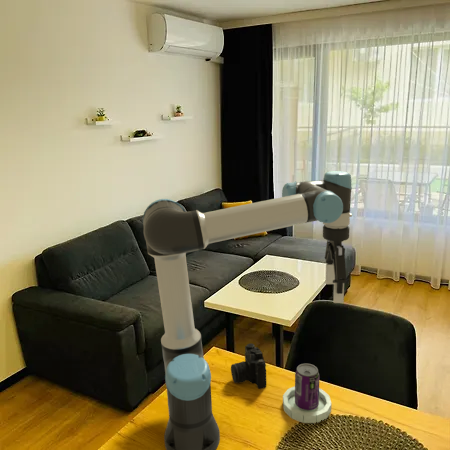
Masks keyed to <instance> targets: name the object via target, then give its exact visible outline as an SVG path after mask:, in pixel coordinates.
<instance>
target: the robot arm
mask: <svg viewBox="0 0 450 450" xmlns="http://www.w3.org/2000/svg"><path fill="white" fill-rule="evenodd" d="M352 189H353V188H352V175H351V173H349V172H347V171H342V170H341V171H340V170H337V171H336V170H333V171H327V172H325V173H324V174H323V179H319V180H309V181H308V180H305V181H291V182H286V183H285V184H283V187H282V190H281V197H277V198H271V199H267V200H261V201H256V202H252V203H247V204H241V205H235V206H231V207H227V208H221V209H217V210H213V211H207V212H201V211H199V210H198V209H196V210H191V211H185V209H184V207H183V206H182V205H181V204H180V203H179V202H177V201H175V200H173V199H171V198H159V199H157V200H155V201H153V202H151V203H150V204H149V205H148V206H147V207H146V209H145V210H144V212H143V215H142V225H143V236H144V241H145V243H146V250H147V254H148V255H149V256H151V257H152V258H154V264H155V265H154V266H155V271H156V279H157V286H158V292H159V299H160V306H161V307H160V308H161V313H162V319H163V320H162V322H163V326H164V334H163V335H162V336H161V338H160V342H161V351H162V358H163V362H164V372H165V373H164V374H165V375H164V380H165V386H166V393H167V395H166V396H167V406H168V407H167V409H168V416H169V417H168V421H167V424H166V428H165V431H164V438H163V439H164V447H165V450H217V449H218V446H219V444H220V441H221V440H220V438H221V435H220V429H219V425H218V423H217V420H216V419H215V415H214V414H213V405H212V404H213V403H212V402H213V401H212V389H211V388H212V386H211V384H212V373H211V370H210V366H209V363H208V362H207V361H206V359H205V356H204V351H203V344H202V342H203V341H202V334H201V332H200V331H199V330H198V329H197V328H195V321H194V320H195V319H194V313H193V311H194V310H193V304H192V297H191V295H192V294H191V289H190V281H189V280H190V279H189V273H188V265H187V257H186V256H187V255H186V254H187V253H191V252H197V251H199V250H205V249H206V248H207V246H209V245H210V244H213V243H218V242H222V241H227V240H231V239H236V238H242V237H245V236H251V235H255V234H261V233H265V232H270V231H273V230H278V229H279V230H280V229H284V228H288V227H292V226H297V225H302V224H307V223H313V222H317V221H318V222H320V223H322V224H323V226H322V238H323V239H325V240H326V245H325V247H326V248H325V252H324V253H325V255H324V260H325V263H326V264H325V285H333V299H332V301H333V304H344V301H345V300H344V299H345V296H344V295H345V284H346V283H347V273H346V258H345V257H346V248H345V247H344V245H343V243H342V242H344V241H347V240H348V239H349V238H350V230H351V229H350V226H349V225H350V222H351V221H350V218H352V216H353V215H352V213H351V201H352V200H351V199H352V198H351V197H352Z"/></svg>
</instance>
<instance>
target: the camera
mask: <svg viewBox="0 0 450 450" xmlns="http://www.w3.org/2000/svg"><path fill="white" fill-rule="evenodd" d="M244 348H245V353H244V361H241V362H235V363H233V364H231V365H230V372H231V377H232V380H233V382H234V383H235V384H241V383H246V382H249V383H250V384H251V385H252V384H253V385H255V386H256V387H257V389H258V390H262V389H265V388H266V387H267V369H266V367H267V364H266V361H265V360H264V356H263V355H264V354H263V352H262V351H261V349H260V348H259V347H258V346H257V347H256V346H255V344H254V343H251V342H250V343H248V344H246V345H245V347H244Z"/></svg>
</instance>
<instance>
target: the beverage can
mask: <svg viewBox="0 0 450 450" xmlns="http://www.w3.org/2000/svg"><path fill="white" fill-rule="evenodd" d="M294 386H295V404H296V405H297V406H298V407H299V408H301V409H304V410H313V409H315V408H317V407H318V405H319V388H320V373H319V369H318V367H317V366H315V365H314V364H311V363H301V364H299V365H298V366H297V367H296V371H295V373H294Z"/></svg>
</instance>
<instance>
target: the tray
mask: <svg viewBox="0 0 450 450" xmlns="http://www.w3.org/2000/svg"><path fill="white" fill-rule="evenodd" d="M282 407H283V412H285V414H286V415H288V416H289V418H291V420H293V421H294V420H295V421H297V422H299V423H302V424H317V423H320V422H321V420H322V421H325V420H327V419H328V417H329V415H330V414H331V412H332V401H331V396H330V395H329V394H328V393H327V392H326V391H325V390H323V389H322V388H320V387H319V405H318V407H317V408H315V409H313V410H304V409H301V408H299V407H298V406H297V405H296V404H295V385H294V386H292V387H289V388H287V389H286V391H285V392H284V393H283V395H282ZM324 419H325V420H324ZM316 422H317V423H316Z"/></svg>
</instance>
